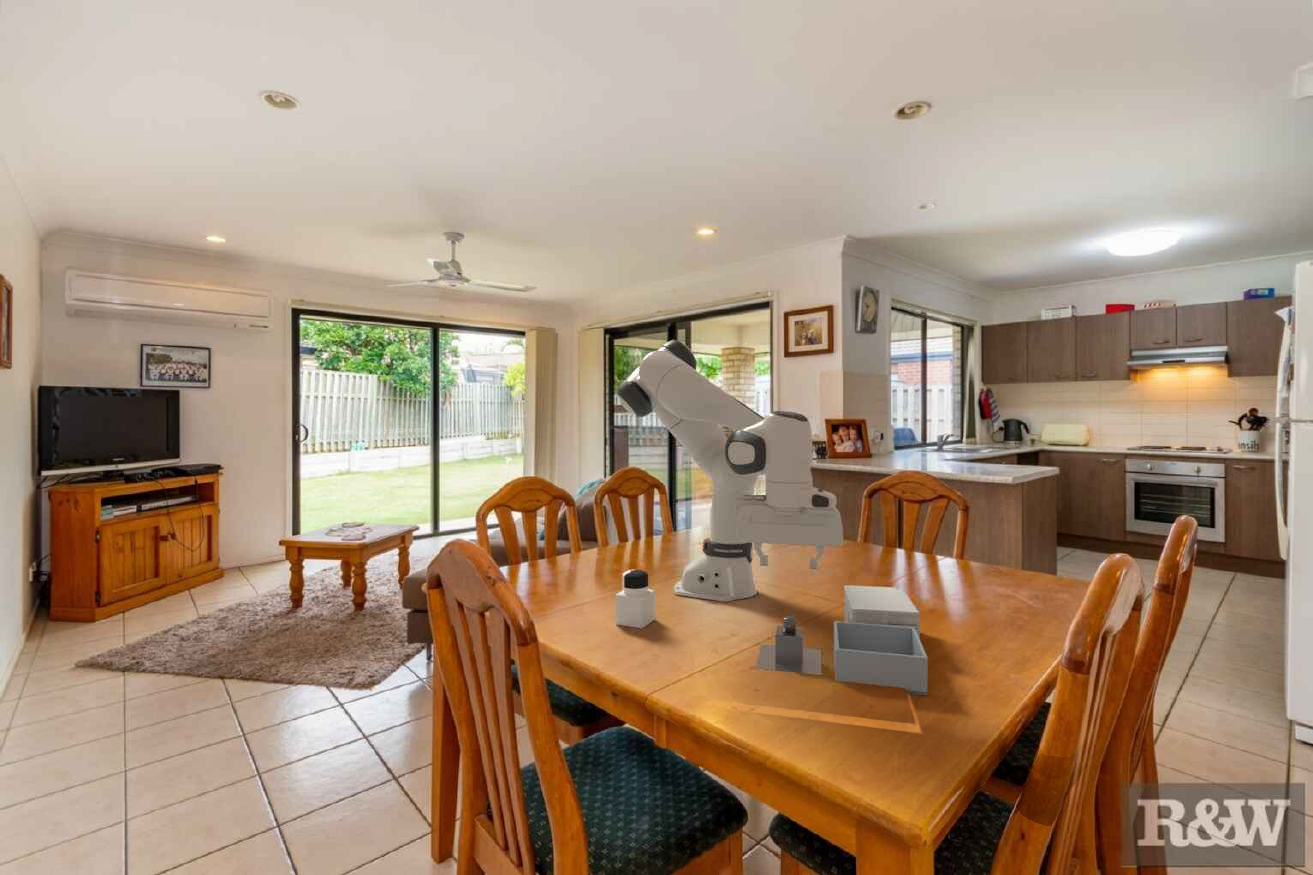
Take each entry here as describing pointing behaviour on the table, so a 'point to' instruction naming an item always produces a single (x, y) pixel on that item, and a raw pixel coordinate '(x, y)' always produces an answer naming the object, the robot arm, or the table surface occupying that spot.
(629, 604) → the medicine bottle
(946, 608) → the table surface
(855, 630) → the bin
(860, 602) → the supplement box
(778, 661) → the strut socket
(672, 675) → the table surface
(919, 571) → the table surface
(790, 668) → the stud base
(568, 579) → the table surface
